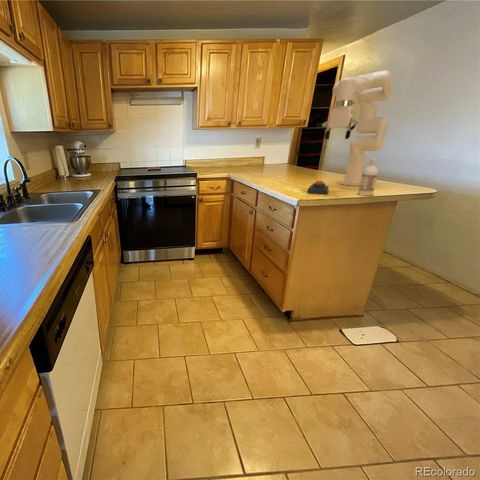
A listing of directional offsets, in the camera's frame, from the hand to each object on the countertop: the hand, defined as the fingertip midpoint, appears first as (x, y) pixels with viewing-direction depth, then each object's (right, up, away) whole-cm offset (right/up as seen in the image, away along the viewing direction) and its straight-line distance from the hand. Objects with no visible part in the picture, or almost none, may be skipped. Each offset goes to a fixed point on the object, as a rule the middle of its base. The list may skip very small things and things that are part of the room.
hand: (336, 139), depth 147 cm
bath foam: (+22, -30, +7) cm, 38 cm away
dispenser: (+1, -26, +20) cm, 33 cm away
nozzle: (+1, -22, +18) cm, 28 cm away
